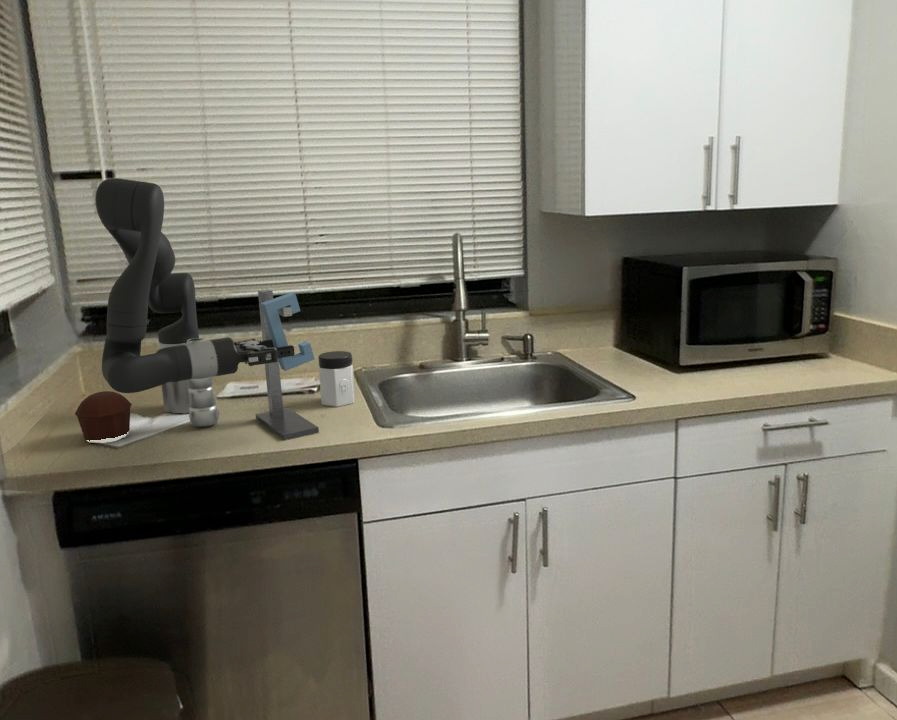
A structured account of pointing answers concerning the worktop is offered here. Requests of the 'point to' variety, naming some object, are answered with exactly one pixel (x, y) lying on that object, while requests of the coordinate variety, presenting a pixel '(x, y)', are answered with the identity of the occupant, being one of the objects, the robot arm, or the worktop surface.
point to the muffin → (104, 415)
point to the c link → (278, 332)
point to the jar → (336, 378)
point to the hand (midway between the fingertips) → (286, 346)
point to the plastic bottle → (202, 399)
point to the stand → (279, 389)
